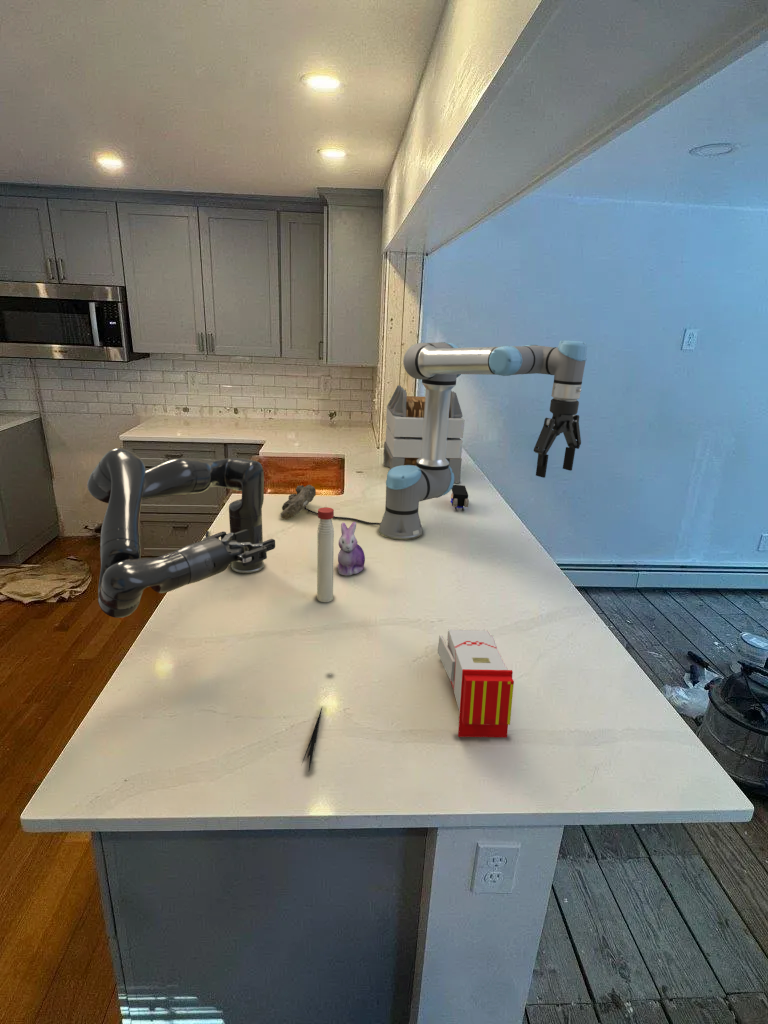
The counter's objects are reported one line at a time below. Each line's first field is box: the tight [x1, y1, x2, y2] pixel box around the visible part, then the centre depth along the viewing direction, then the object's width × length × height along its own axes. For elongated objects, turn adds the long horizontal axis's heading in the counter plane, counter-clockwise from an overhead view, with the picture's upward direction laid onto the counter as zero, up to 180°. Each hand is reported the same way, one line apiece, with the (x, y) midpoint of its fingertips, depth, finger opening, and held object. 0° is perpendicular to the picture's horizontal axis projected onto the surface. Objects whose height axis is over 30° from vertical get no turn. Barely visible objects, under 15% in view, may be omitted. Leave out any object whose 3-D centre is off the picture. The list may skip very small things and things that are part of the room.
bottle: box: [316, 518, 335, 603], centre depth 149 cm, size 4×4×25 cm
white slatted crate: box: [383, 384, 465, 484], centre depth 268 cm, size 34×33×41 cm
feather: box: [301, 673, 332, 771], centre depth 108 cm, size 2×28×2 cm
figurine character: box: [449, 484, 470, 512], centre depth 229 cm, size 7×8×15 cm
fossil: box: [280, 484, 317, 520], centre depth 215 cm, size 22×10×15 cm
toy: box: [437, 628, 515, 738], centre depth 117 cm, size 12×13×30 cm
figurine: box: [337, 521, 366, 576], centre depth 168 cm, size 9×10×15 cm
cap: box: [317, 506, 335, 520], centre depth 145 cm, size 4×4×2 cm
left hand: (260, 538), depth 126 cm, fingers open, 8 cm apart
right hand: (554, 473), depth 164 cm, fingers open, 13 cm apart
